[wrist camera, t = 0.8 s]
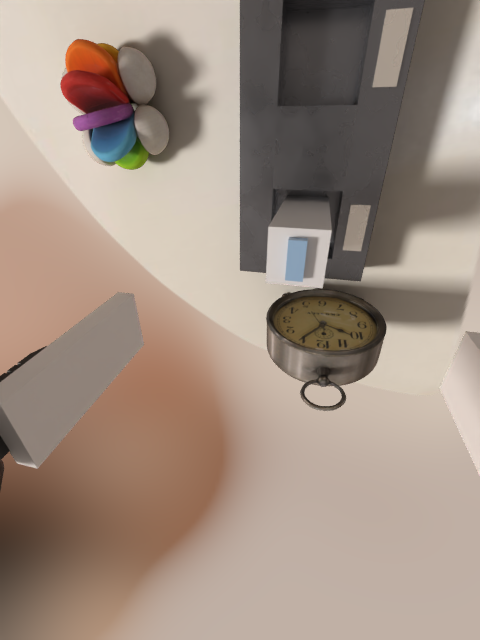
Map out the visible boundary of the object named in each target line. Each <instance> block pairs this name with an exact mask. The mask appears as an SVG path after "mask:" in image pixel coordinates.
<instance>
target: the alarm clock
mask: <svg viewBox="0 0 480 640" xmlns="http://www.w3.org/2000/svg"><path fill="white" fill-rule="evenodd" d="M266 319H267V349H268V352H269V354H270V357H271V359H272V360H273V362H274V363H275V364H276V365H277V366H278V367H279V368H280V369H281V370H282V371H284V372H285V373H287V374H288V375H290V376H291V377H293V378H295V379H298V380H300V381H303V382H306V383H305V384H304V385H303V387H302V389H301V391H300V393H301V398H302V400H303V401H304V402H305V403H306V404H307V405H309V406H310V407H312V408H314V409H317V410H323V411H330V410H335V409H337V408H339V407H341V406H342V405H343V404H344V403H345V401H346V395H345V393H344V391H343V389H342V388H341V387H339V386H340V385H346V384H350V383H353V382H356V381H358V380H360V379H362V378H364V377H365V376H366V375H368V374H369V373H370V372H371V371H372V370H373V369H374V367H375V366H376V364H377V361H378V358H379V355H380V351H381V347H382V344H383V340H384V336H385V334H386V323H385V320H384V318H383V316H382V315H381V314H380V312H379V311H378V310H377V309H376V308H375V307H373V306H372V305H371V304H369V303H368V302H366V301H364V300H363V299H360V298H358V297H356V296H353V295H350V294H347V293H343V292H339V291H333V290H321V289H313V290H303V291H298V292H294V293H291V294H288V295H287V294H283V295H282V297H281V298H279V299H278V300H277V301H275V302H274V303H273V304H272V305H271V307H270V308H269V310H268V312H267V318H266ZM310 384H314V385H320V386H322V387H326V386H335V387H336V388H337V389H338V390H339V391H340V392H341V394H342V399H341V401H340V402H339V403H337V404H336V405H333V406H318V405H315V404H313V403H311V402H310V401H309V400H308V399H307V398H306V397H305V395H304V390H305V388H306V387H307V386H308V385H310Z"/></svg>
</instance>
